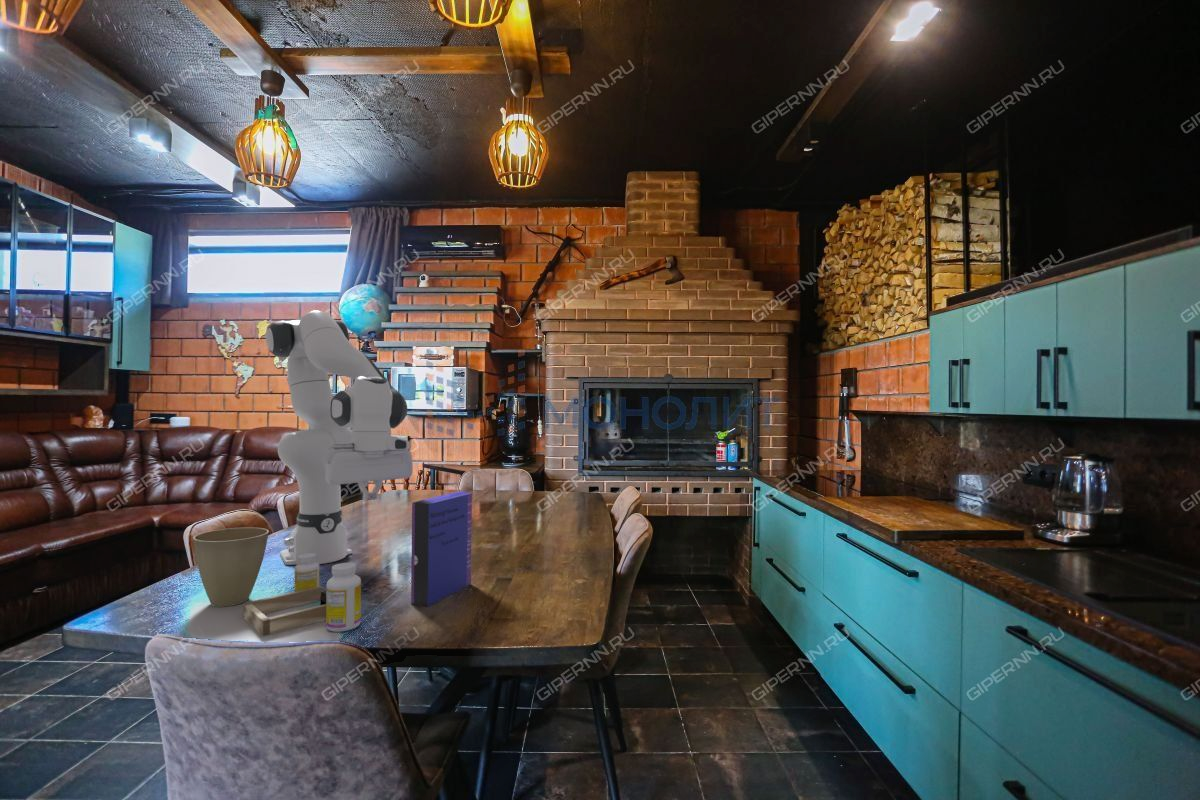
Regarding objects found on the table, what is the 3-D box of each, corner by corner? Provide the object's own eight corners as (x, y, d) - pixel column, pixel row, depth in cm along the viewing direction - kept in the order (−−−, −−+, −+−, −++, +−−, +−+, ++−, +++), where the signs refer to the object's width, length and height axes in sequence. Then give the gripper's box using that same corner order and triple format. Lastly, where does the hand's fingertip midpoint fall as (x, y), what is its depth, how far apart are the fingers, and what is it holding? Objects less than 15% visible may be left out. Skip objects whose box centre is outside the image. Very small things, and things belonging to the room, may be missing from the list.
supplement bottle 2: (354, 618, 122) (355, 559, 122) (365, 627, 117) (366, 565, 117) (321, 626, 117) (322, 565, 118) (331, 635, 113) (332, 572, 113)
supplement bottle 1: (302, 591, 139) (302, 551, 139) (323, 591, 139) (324, 552, 139) (289, 598, 133) (290, 557, 133) (311, 599, 133) (312, 558, 133)
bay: (242, 616, 122) (243, 603, 122) (320, 598, 134) (320, 586, 134) (263, 636, 112) (263, 621, 112) (345, 614, 124) (345, 601, 124)
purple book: (455, 582, 147) (456, 491, 147) (470, 584, 145) (471, 492, 146) (410, 604, 131) (412, 501, 131) (427, 606, 129) (428, 503, 129)
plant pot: (232, 615, 123) (233, 543, 123) (175, 610, 125) (176, 539, 126) (282, 593, 137) (283, 528, 138) (230, 588, 140) (231, 525, 140)
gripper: (331, 445, 126) (330, 506, 125) (416, 441, 140) (415, 496, 140) (321, 443, 130) (320, 503, 130) (404, 440, 145) (403, 493, 145)
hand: (370, 499), depth 135 cm, fingers closed
